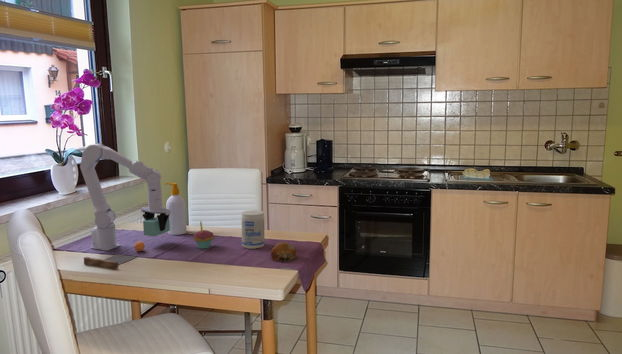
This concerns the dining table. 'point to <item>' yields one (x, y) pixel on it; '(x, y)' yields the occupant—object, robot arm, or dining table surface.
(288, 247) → the bread roll
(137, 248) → the ball
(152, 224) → the teal rectangular box
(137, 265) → the dining table surface
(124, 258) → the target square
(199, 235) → the cupcake
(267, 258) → the dining table surface
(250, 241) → the supplement tub
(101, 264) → the stopper strip
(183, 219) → the soap bottle
